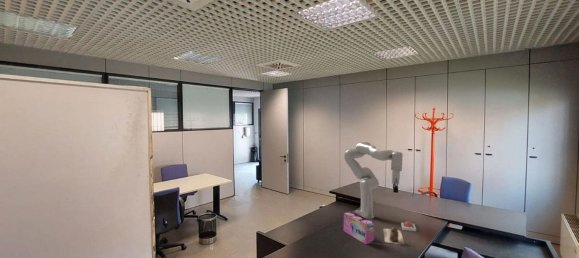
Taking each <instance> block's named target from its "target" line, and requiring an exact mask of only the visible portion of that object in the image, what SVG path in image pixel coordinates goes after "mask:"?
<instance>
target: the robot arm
mask: <svg viewBox="0 0 579 258" xmlns="http://www.w3.org/2000/svg"><path fill="white" fill-rule="evenodd" d="M365 155H366V156H367V155H368V156H369V157H370V156H371V158H373V159H375V160H378V161H381V162H382V161H383V162H384V161H390V170H391V171H392V173H391V184H392V189H393V193H396V194H398V193H399V185H400V179H401V175H400V174H401V172H402V171H403V155H404V154H403V152H402V151H396V150H391V149H388V150H387V149H385V150H380V149H377V147H376V146H375V145H373V144H371V143H370V142H368V141H364V142H361V141H360V142H358V143H357V144H356V145H355V148H350V149H347V150H346V151H344V154H343V156H344V157H343V158H344V161H345V163H346V164H347V165H348V167H349V169H350V170H351V171H352V173H353V175H354V176H355V177H356V178H355V179H357V180H361V181H360V182H359V188H360V189H359V190H360V209H359V210H357V209H355V211H354V213H356V214H358V215H360V216H363V217H365V218H367V219H369V220H372V219H374V218H375V215H374V214H373V211H374V210H373V204H374V203H373V200H374V197H373V195H374V194H373V192H372V191H373V190H375V189H378V188H379V185H380V183H379V179H378V178H377V176H376V175H375V173H373V171H372V169H370V168H369V167H366V166H365V167H362V166H361V165H360V163H359V162H358V161H357V160H355V159H360V158H362V157H364V156H365Z"/></svg>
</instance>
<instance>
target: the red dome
mask: <svg viewBox="0 0 579 258" xmlns="http://www.w3.org/2000/svg"><path fill="white" fill-rule="evenodd" d="M404 223H405V226H404V227H412V224H413V223H412V222H411V220H406V221H405V222H404ZM412 228H413V227H412Z"/></svg>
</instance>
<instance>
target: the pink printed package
mask: <svg viewBox="0 0 579 258" xmlns="http://www.w3.org/2000/svg"><path fill="white" fill-rule="evenodd" d="M343 232H345V234H348V235H350V236H351V237H353V238H355V239H356V240H358V241H359V242H361V243H363V244H365V245H367V244H372V243H373V242H374V241H375V221H373V220H372V219H368V218H365V217H363V216H360V215H359V213H356V212H355V211H351V210H350V211H348V212H343Z"/></svg>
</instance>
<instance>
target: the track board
mask: <svg viewBox="0 0 579 258" xmlns="http://www.w3.org/2000/svg"><path fill="white" fill-rule="evenodd" d="M382 230H383V239H384V242H385V244H387V243H388V244H389V243H391V244H395V245H397V244H398V245H405V242H404V241H405V240H404V238H403V234H402V230H399V229H397V230H398V242H392V241H390V231H391V228H382Z"/></svg>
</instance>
